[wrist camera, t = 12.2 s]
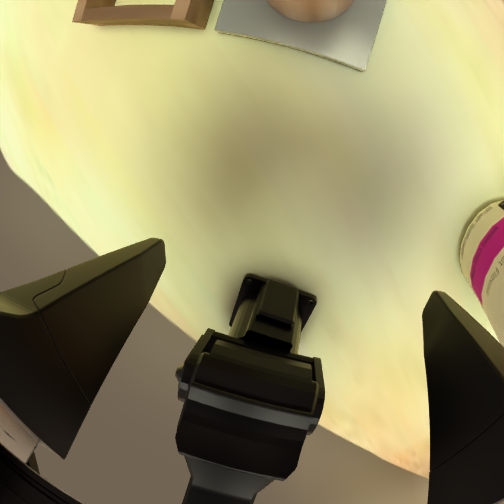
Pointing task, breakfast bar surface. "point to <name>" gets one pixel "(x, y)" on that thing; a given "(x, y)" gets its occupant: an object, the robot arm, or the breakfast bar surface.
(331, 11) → the peach plastic cup
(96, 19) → the frame
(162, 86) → the breakfast bar surface
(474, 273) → the supplement can
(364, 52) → the tile
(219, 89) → the breakfast bar surface
